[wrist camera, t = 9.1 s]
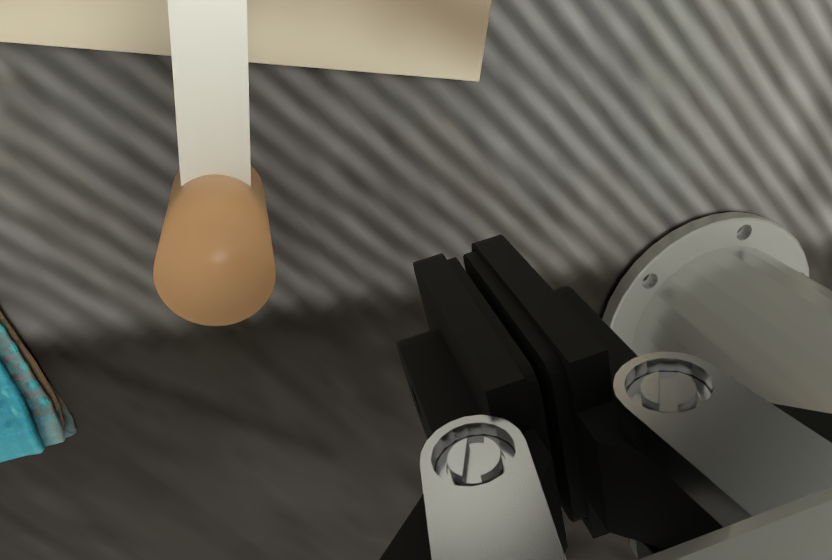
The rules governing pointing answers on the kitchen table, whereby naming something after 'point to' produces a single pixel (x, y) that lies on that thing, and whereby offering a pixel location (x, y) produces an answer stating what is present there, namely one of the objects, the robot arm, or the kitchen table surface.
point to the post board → (279, 32)
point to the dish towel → (27, 402)
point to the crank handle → (213, 174)
